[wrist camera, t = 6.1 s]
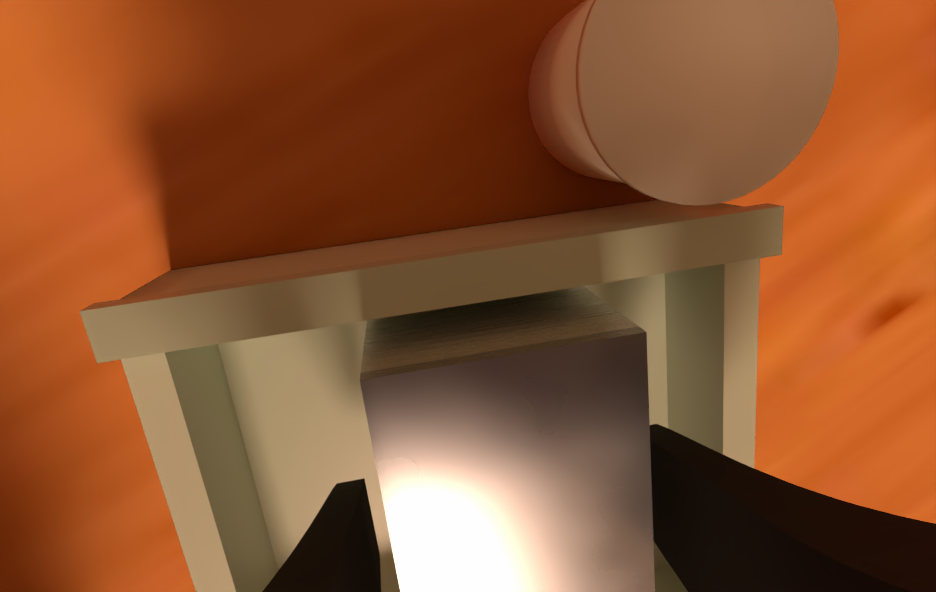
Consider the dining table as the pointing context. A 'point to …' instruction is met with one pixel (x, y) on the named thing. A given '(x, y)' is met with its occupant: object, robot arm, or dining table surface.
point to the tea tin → (513, 445)
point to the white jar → (684, 92)
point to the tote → (397, 293)
